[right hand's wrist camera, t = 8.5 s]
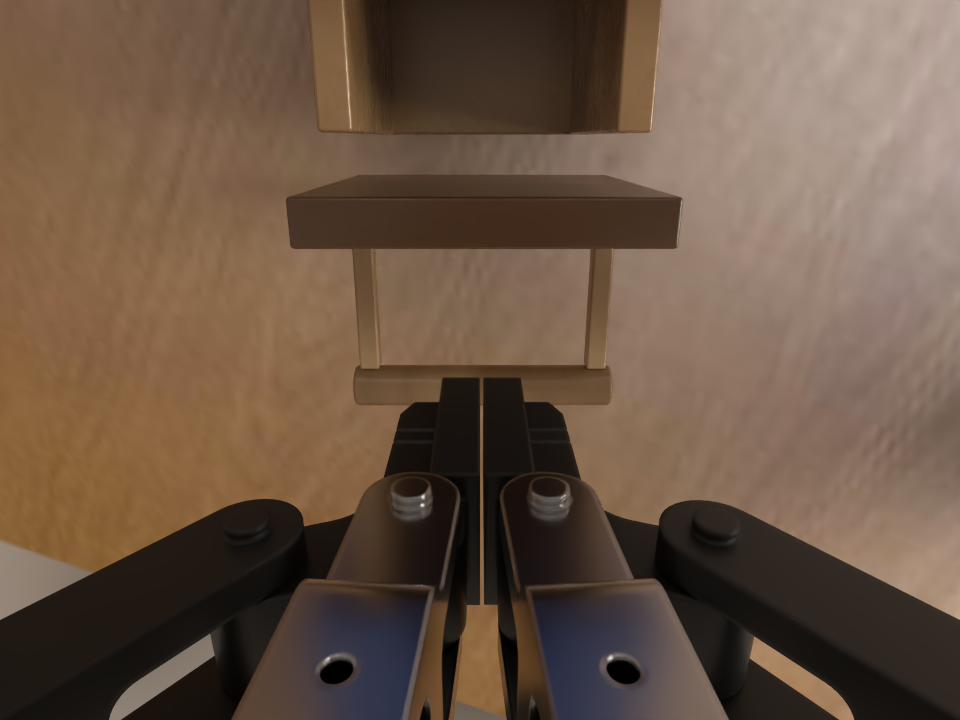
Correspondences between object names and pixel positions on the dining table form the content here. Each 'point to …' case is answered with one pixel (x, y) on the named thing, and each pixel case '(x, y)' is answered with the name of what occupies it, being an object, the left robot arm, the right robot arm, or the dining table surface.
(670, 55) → the dining table surface
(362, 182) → the drawer
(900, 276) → the dining table surface
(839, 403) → the dining table surface
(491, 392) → the right robot arm
